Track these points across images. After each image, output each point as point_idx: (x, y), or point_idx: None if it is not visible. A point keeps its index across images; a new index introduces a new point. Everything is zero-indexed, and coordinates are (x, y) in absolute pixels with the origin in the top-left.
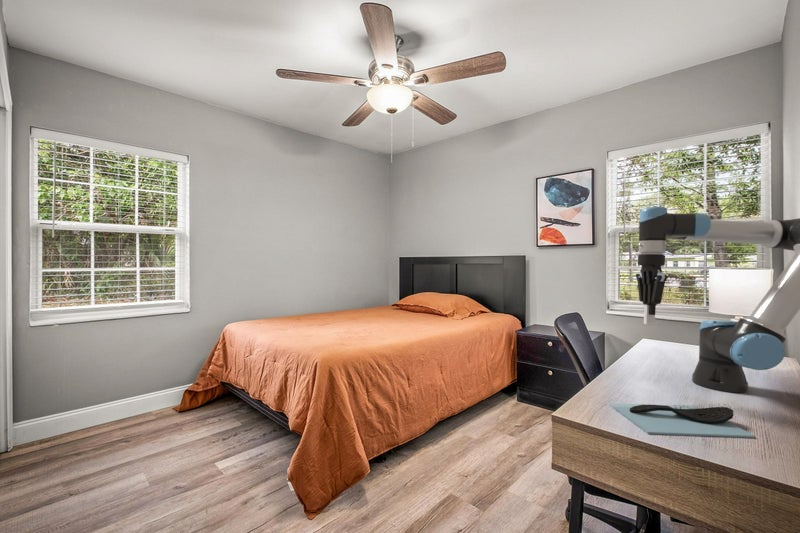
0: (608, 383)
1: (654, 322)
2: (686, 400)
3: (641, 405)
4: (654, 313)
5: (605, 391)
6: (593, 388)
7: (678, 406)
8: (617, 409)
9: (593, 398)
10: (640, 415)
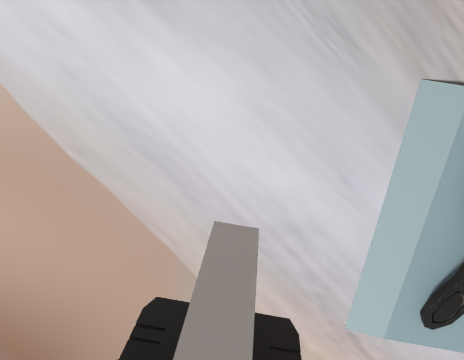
0: (176, 209)
1: (256, 241)
2: (366, 55)
3: (437, 305)
4: (295, 343)
5: None
6: None
7: (413, 143)
8: (404, 341)
9: (305, 337)
10: None
